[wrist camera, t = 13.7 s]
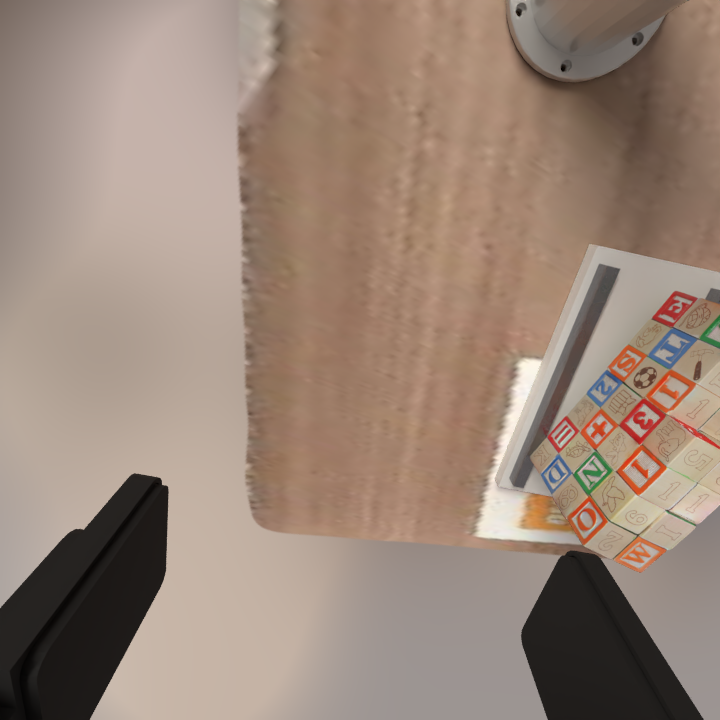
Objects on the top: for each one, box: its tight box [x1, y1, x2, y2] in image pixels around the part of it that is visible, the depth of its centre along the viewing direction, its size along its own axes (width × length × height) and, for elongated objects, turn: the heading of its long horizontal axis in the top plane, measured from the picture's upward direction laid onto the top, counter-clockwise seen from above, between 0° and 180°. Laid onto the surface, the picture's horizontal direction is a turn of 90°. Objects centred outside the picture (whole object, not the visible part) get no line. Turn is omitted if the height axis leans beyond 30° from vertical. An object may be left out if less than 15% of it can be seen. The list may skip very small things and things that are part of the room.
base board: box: [495, 244, 720, 497], centre depth 43 cm, size 28×14×3 cm, turn 168°
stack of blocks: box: [530, 291, 720, 573], centre depth 35 cm, size 21×6×12 cm, turn 151°
